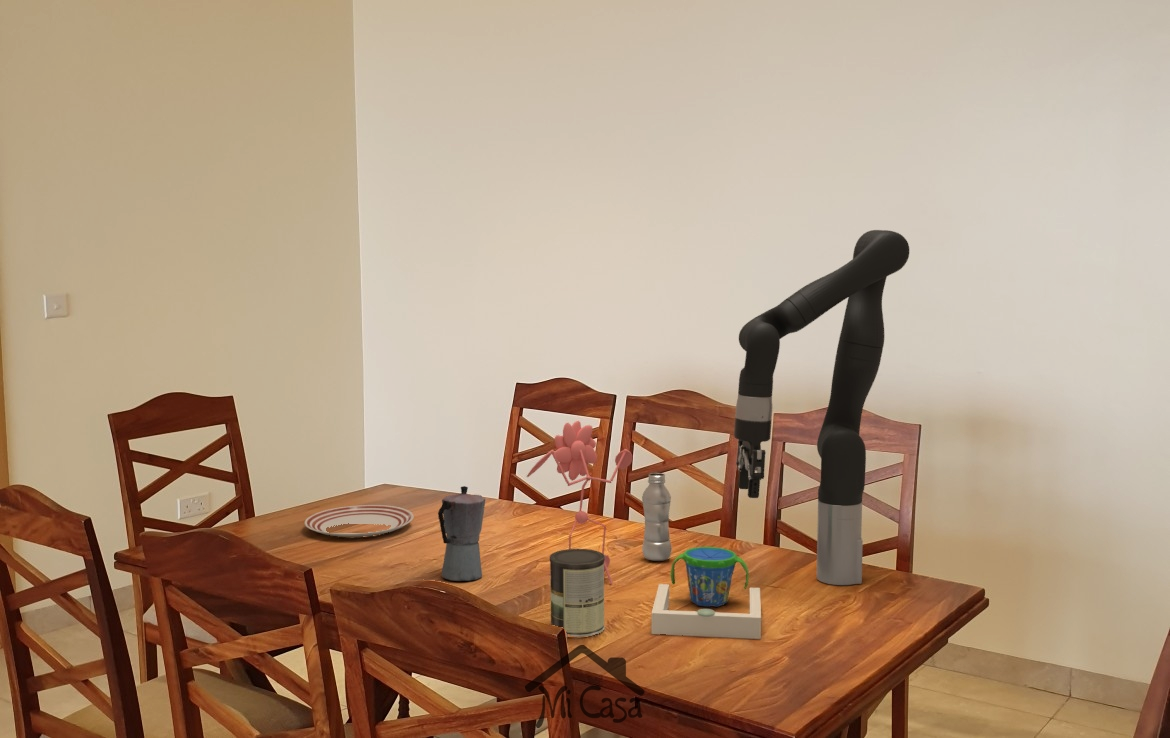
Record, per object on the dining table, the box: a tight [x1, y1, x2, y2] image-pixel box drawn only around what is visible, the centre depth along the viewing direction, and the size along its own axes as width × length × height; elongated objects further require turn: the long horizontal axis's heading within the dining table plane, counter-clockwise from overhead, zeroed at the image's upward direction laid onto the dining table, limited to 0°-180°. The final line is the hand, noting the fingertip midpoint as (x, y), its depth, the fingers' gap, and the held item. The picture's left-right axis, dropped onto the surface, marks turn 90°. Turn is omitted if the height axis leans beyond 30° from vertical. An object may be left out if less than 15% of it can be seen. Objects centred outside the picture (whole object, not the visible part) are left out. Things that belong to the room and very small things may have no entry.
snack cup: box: [670, 546, 750, 608], centre depth 220 cm, size 16×10×10 cm
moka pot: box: [437, 485, 486, 582], centre depth 238 cm, size 10×15×20 cm, turn 155°
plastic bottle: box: [641, 472, 672, 562], centre depth 250 cm, size 6×7×20 cm
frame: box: [650, 583, 762, 640], centre depth 210 cm, size 20×19×4 cm
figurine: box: [526, 420, 635, 586], centre depth 233 cm, size 15×26×35 cm, turn 131°
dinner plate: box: [304, 504, 415, 538], centre depth 281 cm, size 28×27×3 cm
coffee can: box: [549, 548, 606, 639], centre depth 205 cm, size 10×10×14 cm
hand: (748, 493), depth 230 cm, fingers open, 8 cm apart
